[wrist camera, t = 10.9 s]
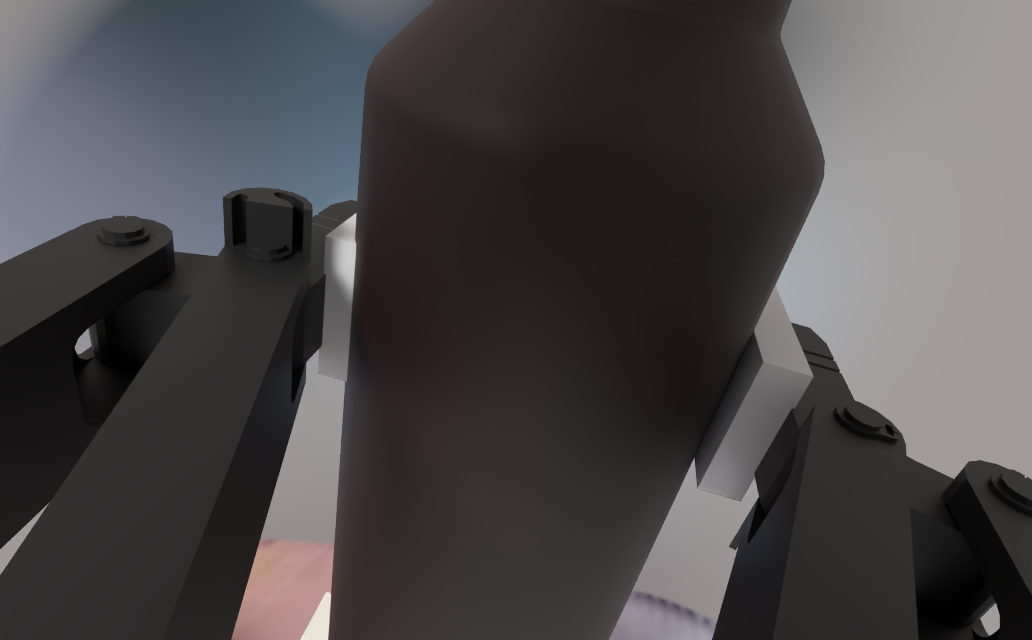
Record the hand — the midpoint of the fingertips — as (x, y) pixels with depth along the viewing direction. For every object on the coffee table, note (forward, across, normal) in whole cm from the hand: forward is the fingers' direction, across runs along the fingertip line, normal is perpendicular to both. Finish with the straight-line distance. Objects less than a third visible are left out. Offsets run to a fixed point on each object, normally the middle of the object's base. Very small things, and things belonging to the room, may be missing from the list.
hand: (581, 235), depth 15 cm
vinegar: (-5, 0, -11) cm, 12 cm away
